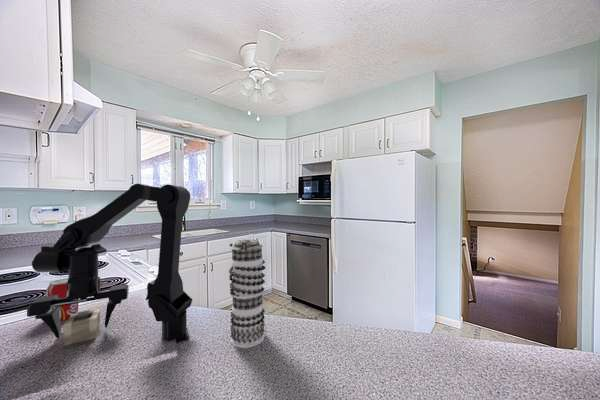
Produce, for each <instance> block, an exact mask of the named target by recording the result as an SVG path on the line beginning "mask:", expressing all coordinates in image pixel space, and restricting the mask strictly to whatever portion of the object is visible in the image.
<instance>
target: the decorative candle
mask: <svg viewBox="0 0 600 400" xmlns="http://www.w3.org/2000/svg"><path fill="white" fill-rule="evenodd" d="M230 249H231V252H232V253H231V255H232V256H231V267H230V268H229V270H228V273H229V277H228V279H229V281H231V282H230V283H229V291H230V293H229V294H230V296H231V297H232V305H231V312H230V317H231V318H230V324H231V325H230V338H231V339H230V342H231V343H230V344H232V345H233V347H236V348H239V349H247V348H252V347H253V348H254V347H255V346H258V345H260V344H261V343H262V342H263V341H264V339H265V333H264V332H265V331H266V329H265V326H266V324H265V314H264V313H265V312H266V311H265V309H264V302H263V294H264V292H265V287H264V286H263V284H264V283H266V280H265V279H264V277H265V276H266V274H264V273H263V272H262V271H264V270H266V266H265V265H264V264H265V263H266V261H265V260H263V259H264V258H263V252H262V251H263V250H262V249H263V245H262V244H261V243H260V242H259V240H257V239H241V240H237V241H235V242H234V244H233V246H231V247H230Z"/></svg>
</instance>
